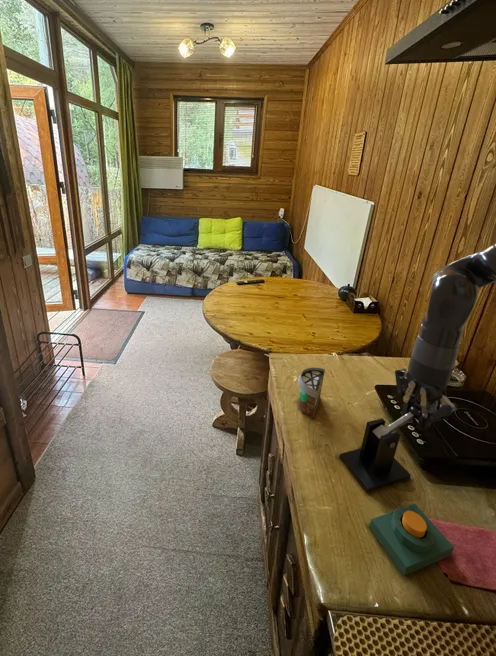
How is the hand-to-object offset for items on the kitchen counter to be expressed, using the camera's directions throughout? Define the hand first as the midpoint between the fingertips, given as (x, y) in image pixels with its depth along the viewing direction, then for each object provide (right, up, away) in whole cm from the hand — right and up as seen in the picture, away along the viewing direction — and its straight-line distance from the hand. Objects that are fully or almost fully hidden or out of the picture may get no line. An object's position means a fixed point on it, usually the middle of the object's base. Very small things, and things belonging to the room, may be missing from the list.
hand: (414, 421), depth 71 cm
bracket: (-9, -12, +1) cm, 15 cm away
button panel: (-10, -16, -13) cm, 23 cm away
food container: (-19, -5, +21) cm, 28 cm away
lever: (-4, -1, -1) cm, 4 cm away
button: (-10, -13, -14) cm, 21 cm away
